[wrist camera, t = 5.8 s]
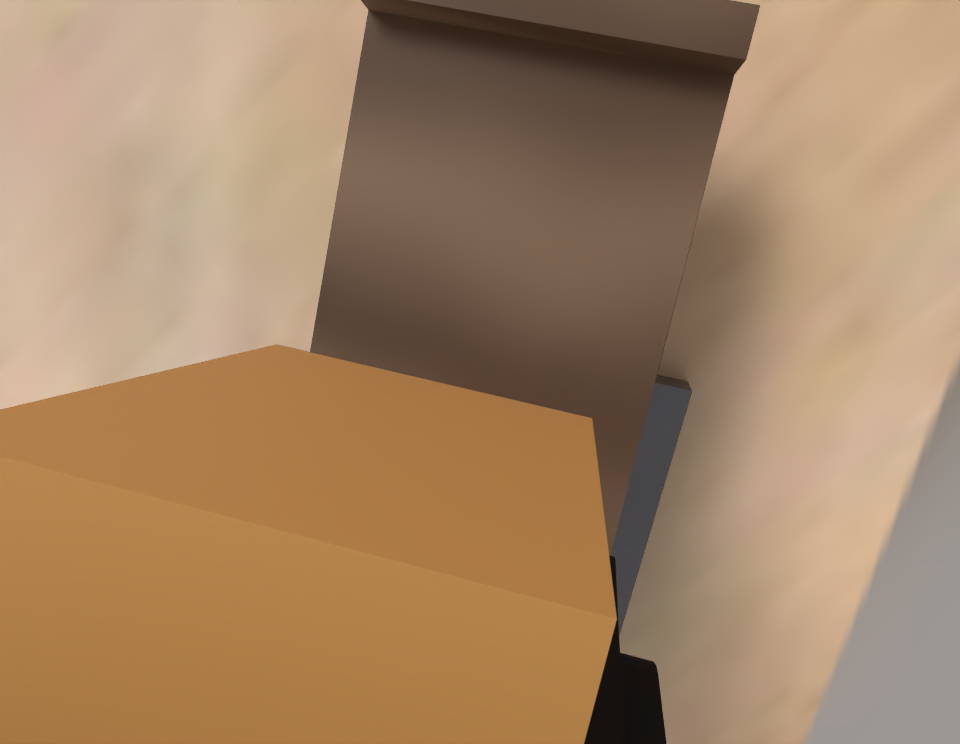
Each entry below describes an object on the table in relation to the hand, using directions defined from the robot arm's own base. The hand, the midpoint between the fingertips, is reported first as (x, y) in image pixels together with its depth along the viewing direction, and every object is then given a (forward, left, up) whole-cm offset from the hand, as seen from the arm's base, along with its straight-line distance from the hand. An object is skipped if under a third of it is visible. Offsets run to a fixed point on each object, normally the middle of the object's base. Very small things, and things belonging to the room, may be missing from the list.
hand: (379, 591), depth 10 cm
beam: (+3, -2, -7) cm, 8 cm away
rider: (0, 0, -1) cm, 1 cm away
